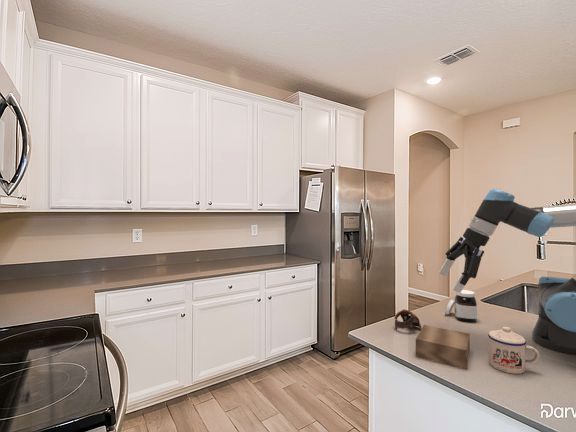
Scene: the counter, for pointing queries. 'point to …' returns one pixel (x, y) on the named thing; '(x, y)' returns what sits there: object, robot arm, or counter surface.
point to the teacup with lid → (508, 351)
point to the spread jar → (464, 306)
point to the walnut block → (443, 346)
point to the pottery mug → (407, 320)
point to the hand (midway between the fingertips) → (448, 282)
